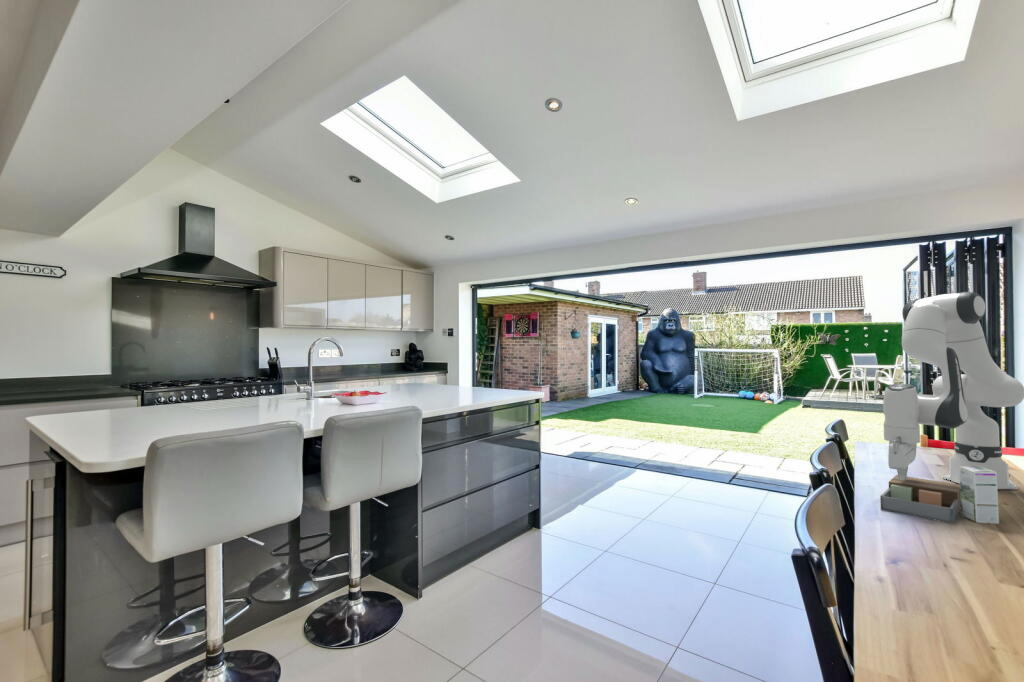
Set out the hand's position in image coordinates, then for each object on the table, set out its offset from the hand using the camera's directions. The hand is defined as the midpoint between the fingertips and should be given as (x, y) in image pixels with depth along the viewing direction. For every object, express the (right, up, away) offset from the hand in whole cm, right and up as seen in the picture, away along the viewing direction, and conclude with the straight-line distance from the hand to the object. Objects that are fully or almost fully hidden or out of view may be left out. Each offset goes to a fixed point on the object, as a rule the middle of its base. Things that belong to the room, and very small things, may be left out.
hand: (902, 479), depth 148 cm
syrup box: (+8, -7, -16) cm, 19 cm away
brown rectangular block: (+7, -7, -1) cm, 10 cm away
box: (-2, -7, -9) cm, 11 cm away
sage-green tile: (-1, -4, -1) cm, 5 cm away
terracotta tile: (+3, -4, -7) cm, 8 cm away
